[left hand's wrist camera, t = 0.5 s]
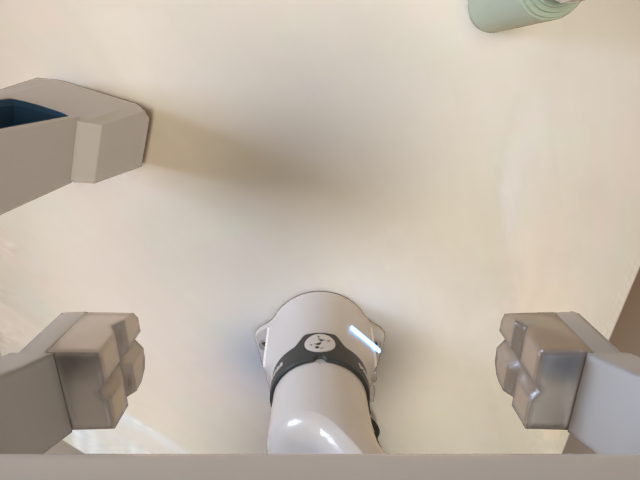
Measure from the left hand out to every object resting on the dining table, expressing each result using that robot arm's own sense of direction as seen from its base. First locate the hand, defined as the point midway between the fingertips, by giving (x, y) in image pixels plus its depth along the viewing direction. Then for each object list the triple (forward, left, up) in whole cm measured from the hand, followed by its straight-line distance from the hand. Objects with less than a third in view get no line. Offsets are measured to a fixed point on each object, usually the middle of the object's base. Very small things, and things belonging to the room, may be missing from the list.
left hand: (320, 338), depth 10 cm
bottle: (+13, -20, -48) cm, 53 cm away
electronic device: (0, +27, -48) cm, 55 cm away
